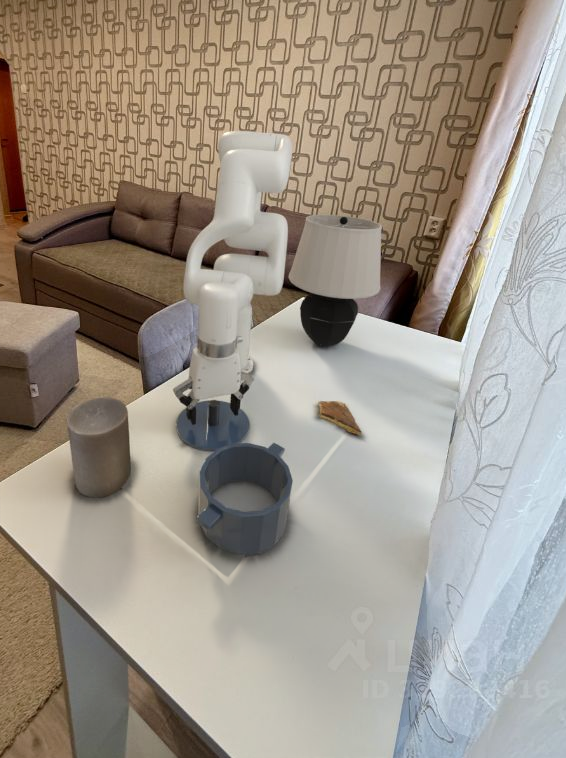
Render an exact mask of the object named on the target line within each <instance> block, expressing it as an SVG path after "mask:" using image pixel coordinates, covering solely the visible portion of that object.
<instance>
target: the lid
mask: <svg viewBox="0 0 566 758" xmlns="http://www.w3.org/2000/svg"><path fill="white" fill-rule="evenodd" d="M195 408H196V424H195V425H192V423H191V421H190V419H189V420H188V419H187V416H186V407H185V408H184V409H183V410H182V411H181V412H180V413H179V414H178V417H177V419H176V423H175V428H176V433H177V434H178V437H179V438H180V439H181V440H182V441H183V442H184V443H185V444H187V445H188V446H190V447H192V448H195V449H197V450H201V451H208V452H214V451H215V450H217V449H218V448H221V447H224V446H227V445H230V444H235V443H243V441H244V440H245V439H246V438H247V436H248V435H249V432H250V426H251V425H250V419H249V417H248V415H247V414H246V413H245V411H244V410H243V409H242V408H240V409H239V410H238V415H237V416H235V415H234V414H233V412H232V410H231V409H230V402H228V401H223V400H217V399H210V400H208V399H207V400H201V401H198V403H197V404H196V405H195Z"/></svg>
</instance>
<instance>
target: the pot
mask: <svg viewBox="0 0 566 758" xmlns="http://www.w3.org/2000/svg"><path fill="white" fill-rule="evenodd" d="M285 450H286V448H285V447H283V446H281V445H280V444H277V443H275V442H272V444H270V445H269V446H268V447H266V446H263V445H259V444H255V443H251V442H241V443H235V444H230V445H227V446H224V447H221V448H218V449H217V450H215V451H212V453H210V454H209V455H208V456H207V457H206V458H205V459H204V461H203V463H202V465H201V467H200V470H199V473H198V474H199V477H198V482H199V483H198V506H197V507H198V509H197V510H198V515H197V516H196V523H198V524H199V526H200V528H201V529H202V532H203V533H204V535H205V537H206V538H207V540H208V541H210V543H212V544H214V545H215V546H216V547H217V548H219V549H220V550H222V551H225V552H229V553H232V554H235V555H240V556H242V555H244V557H254V556H257V555H261V554H263V553H265V552H267V551H269V550H271V549H273V548H274V547H275V545H277V543H278V542H279V541H280V540H281V538H282V537H283V535H284V533H285V531H286V527H287V520H288V515H289V508H290V501H291V495H292V488H293V481H294V480H293V477H292V473H291V470H290V466H289V465H288V463H286V461H285V460H284V459H283V458H282V456H283V455H284V454H285ZM238 481H240V482H241V481H245V482H247V481H248V482H250V483H254V484H258V485H260V486H262V487H264V488H265V489H266V490H267V491H269V492H271V494H272V495H273V496H274V498H275V499H276V500H277V502H276V503H274V504H273V505H270V506H268V507H266V508H263V509H262V510H252V511H241V510H238V509H234V508H230V507H226V506H225V505H224V504H223V503H221V502H220V501H218V500H217V499H215V498H214V497H213V496H212V493H213V492H214V491H216V489H218V487H220V486H223V485H226V484H227V483H230V482H238Z"/></svg>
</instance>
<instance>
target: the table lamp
mask: <svg viewBox="0 0 566 758" xmlns="http://www.w3.org/2000/svg"><path fill="white" fill-rule="evenodd" d="M382 230H383V226H382V225H381V223H378V222H376V221H373V220H370V219H365V218H361V217H356V216H355V217H354V216H347V215H338V214H312V215H308V216H306V217H305V222H304V227H303V230H302V233H301V236H300V239H299V243H298V245H297V248H296V252H295V255H294V259H293V262H292V265H291V268H290V271H289V273H288V279H289V281H290V283H291V284H292V285H294V286H295V287H297V288H298V289H300V290H302V291H305V292H308V294H307V295H306V296H305V297H304V299H302V301H301V303H300V307H299V313H300V322H301V325H302V329H303V331H304V332H305V334H306V335H307V336H308V337H309V338H310V340H311V341H312V342H313V343H315V344H316V345H317V346H320V347H324V348H327V347H334V346H336V345H338V344H340V343H342V342H343V341H344V340H345V339H346V338H347V336H348V334H349V333H350V331H351V329H352V327H353V325H354V323H355V321H356V319H357V317H358V314H359V306H358V303H357V301H356V300H358V299H360V300H361V299H367V298H370V297H374V296H376V295H377V294H379V293H380V291H381V262H382V261H381V259H382V258H381V257H382V256H381V255H382Z"/></svg>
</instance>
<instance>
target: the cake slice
mask: <svg viewBox="0 0 566 758" xmlns="http://www.w3.org/2000/svg"><path fill="white" fill-rule="evenodd" d="M317 404H318V406H319V413H318V417H319V418H321V419H324V420H327V421H329V422H332V423H334V424H335V425H337V426H339V427H340V428H343V429H345V431H346V432H348V433H351V434H355V435H357V436H360V435H361V434H362V432H363V431H362V430H361V429H360V426H359V425H358V424H357V422H356V420H355V418H354V416H353V414H352V412H351V411H350V409H349V408H348V406H347V405H346V403H345V402H342V401H338V400H337V401H336V400H329V401H328V400H327V401H326V400H325V401H323V400H319V401H318V402H317Z"/></svg>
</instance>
